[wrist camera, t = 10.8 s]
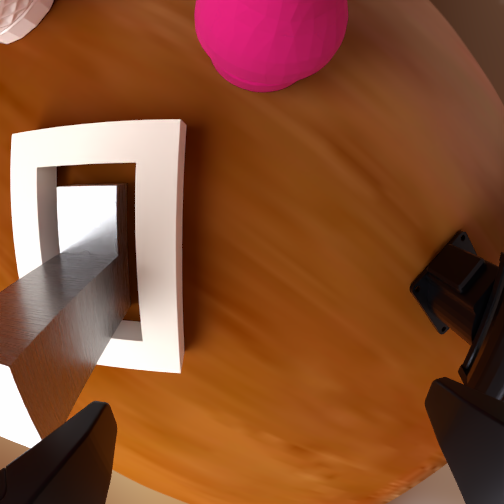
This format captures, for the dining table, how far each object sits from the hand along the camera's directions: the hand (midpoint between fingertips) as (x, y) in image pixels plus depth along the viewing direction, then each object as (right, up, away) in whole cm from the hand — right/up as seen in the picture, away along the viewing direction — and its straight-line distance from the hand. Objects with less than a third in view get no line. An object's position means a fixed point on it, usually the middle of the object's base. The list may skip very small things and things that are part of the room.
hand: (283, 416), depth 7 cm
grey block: (-11, +5, +11) cm, 16 cm away
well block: (-11, +5, +11) cm, 16 cm away
